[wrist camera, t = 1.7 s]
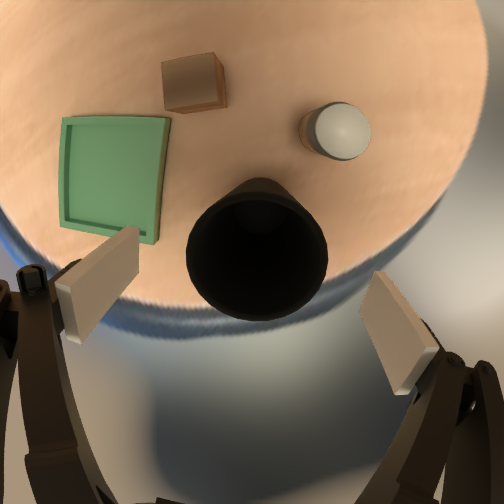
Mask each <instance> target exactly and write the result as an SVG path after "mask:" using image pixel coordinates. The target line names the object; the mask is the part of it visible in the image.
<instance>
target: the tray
mask: <svg viewBox="0 0 504 504" xmlns="http://www.w3.org/2000/svg"><path fill="white" fill-rule="evenodd" d="M170 124H171V119H169V118H157V117H134V116H86V117H64V118H62V125H61V136H60V150H59V181H58V188H59V219H60V227H63V228H68V229H73V230H78V231H83V232H88V233H93V234H98V235H103V236H108V237H112V236H114V235H115V234H116V233H118V232H119V231H120V230H122V229H123V228H125V227H126V226H133V227H139V228H140V229H139V243H144V244H149V245H154V244H155V243H156V242H157V241H158V240H159V228H160V213H161V200H162V189H163V179H164V169H165V160H166V152H167V145H168V137H169V130H170Z"/></svg>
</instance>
